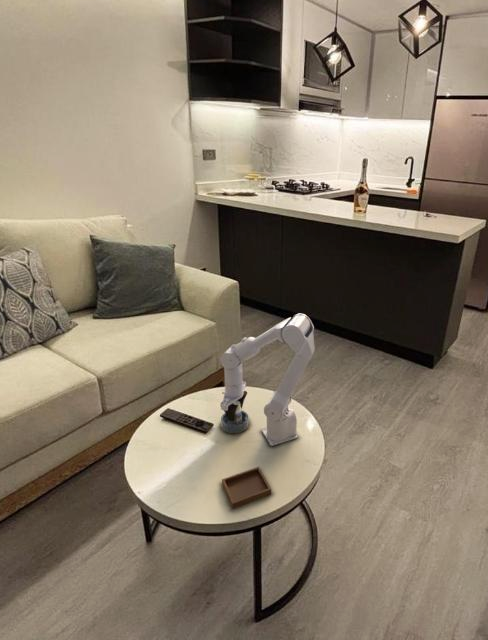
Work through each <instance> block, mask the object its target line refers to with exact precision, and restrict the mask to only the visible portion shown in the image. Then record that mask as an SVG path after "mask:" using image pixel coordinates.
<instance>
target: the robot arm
mask: <svg viewBox="0 0 488 640" xmlns="http://www.w3.org/2000/svg"><path fill="white" fill-rule="evenodd" d="M314 329H315V326H314V324H313V322H312V320H311V318H310V317H309V316H307V315H306V314H305V313H297V314H294V315H293V317H291V316H290V317H288V318H285V319H283V320H282V321H280V322H279V323H277V324H275V325H274V326H273V327H271V328H269V329H268V330H266V331H264V332H263V333H261V334H260V335H258V336H257V337H254V336H248V337H246V336H245V337H243V338H241V340H240V342H239V343H237V344H235V343H234V344H232V345H231V346H230V347H229V348H228V349H227V350H225V351H224V353H222V355H221V356H220V359H219V360H220V364H221V365H222V367H223V375H224V389H223V390H222V392H221V393H222V395H223V399H222V401H221V402H220V410H221V411H224V413H226V416H227V418H228V420H229V421H234V420H235V414H236V409H237V407H238V405H235V404H234V402H235V401H239V402H240V405H241V409H242V410H243V406H244V402H245V400H246V397H247V395H248V392H247V390H245V388H247V382H246V381H244V380H243V362H245V361H247V360H249V359H251V358H253V357H254V356H256V355H258V354H259V353H260V352H261V348H263V347H264V346H266V345H269V344H270V343H272V342H275V341H278V342H280V343H281V344H286V345H287V346H288V347H289V348H290V349H291V350H292V351H293V352H294V353H295V355H294V356H293V358H292V361H291V362H290V365H289V366H288V368H287V370H286V373H285V374H284V376H283V378H282V380H281V382H280V384H279V386H278V388H277V389H276V390H275V391H274V392H273V395H272V396H271V397H270V399H269V400H268V402H267V404H265V406H263V407H264V408H263V414H264V416H265V417H266V428H264V429H263V430H261V432H262V434H263V436H264V437H265V439H266V440H267V442H268V443H269V445H270V446H271V447H274V446H277V445H280V444H282V443H283V444H284V443H286V442H289V441H291V440H295V439H297V438H298V435H297V423H298V422H297V421H298V420H297V415H296V413H295V411H294V409H293V408H291V407H289V405H290V404H291V403H292V394H293V393H294V390H295V388H296V386H297V385H298V383H299V381H300V379H301V377H302V376H303V373H304V372H305V370H306V368H307V366H308V364H309V362H310V361H311V359H312V357H313V355H314V353H315V351H316V348H315V347H316V346H315V337H314Z"/></svg>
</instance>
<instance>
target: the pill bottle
mask: <svg viewBox="0 0 488 640" xmlns="http://www.w3.org/2000/svg"><path fill="white" fill-rule="evenodd" d="M234 404H235V405H238V407H237V409H236V414H235V420H234V421H229V420H228V425H230V426H237V425H240V424H242V411H243V408H242V409H241V405H240V402H239V401H235V402H234Z"/></svg>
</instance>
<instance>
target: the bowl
mask: <svg viewBox="0 0 488 640" xmlns="http://www.w3.org/2000/svg"><path fill="white" fill-rule="evenodd" d="M249 419H250V418H249V414H248V413H247V412H246V411H244V410H242V424H240V425H237V426H230V425H228V418H227V416H226V413H225V412H224V413H223V414H222V415H221V417H220V427H221V429H222V431H224V432H226V433H228V434H238V433H241V432H245V431H246V430H247V429H248V427H249V424H250V421H249Z"/></svg>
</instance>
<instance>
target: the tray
mask: <svg viewBox="0 0 488 640" xmlns="http://www.w3.org/2000/svg"><path fill="white" fill-rule="evenodd" d="M221 485H222V487H223V490H224V492H225V495H226V497H227V500H228V502H229V504H230V507H231V509H232V510H233V509H236V508H238V507H241V506H244V505H247V504H249V503H253V502H255V501H257V500H260V499H262V498H266V497H268V496H270V495H272V488H271V485H269V482H268V481H267V478H266V477H265V475H264V473H263V472H262V470H261V468H260V466H256V467H253V468H251V469H248V470H245V471H243V472H239V473H236V474H233V475H230V476H228V477H225V478H222V479H221Z"/></svg>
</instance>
